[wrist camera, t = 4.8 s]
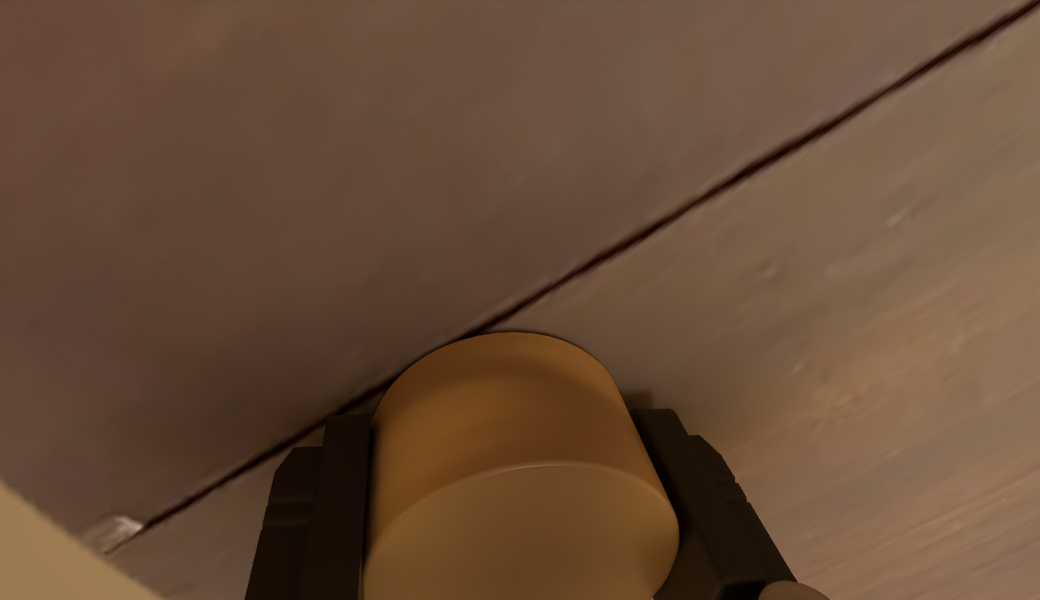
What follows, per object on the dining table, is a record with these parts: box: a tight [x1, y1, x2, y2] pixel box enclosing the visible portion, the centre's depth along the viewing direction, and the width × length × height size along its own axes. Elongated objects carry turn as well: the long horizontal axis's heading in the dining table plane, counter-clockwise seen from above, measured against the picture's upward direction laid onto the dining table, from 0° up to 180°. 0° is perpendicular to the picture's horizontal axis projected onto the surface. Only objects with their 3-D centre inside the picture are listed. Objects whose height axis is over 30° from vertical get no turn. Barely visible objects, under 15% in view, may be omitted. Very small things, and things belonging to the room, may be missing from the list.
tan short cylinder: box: [363, 332, 680, 600], centre depth 10 cm, size 5×5×3 cm
